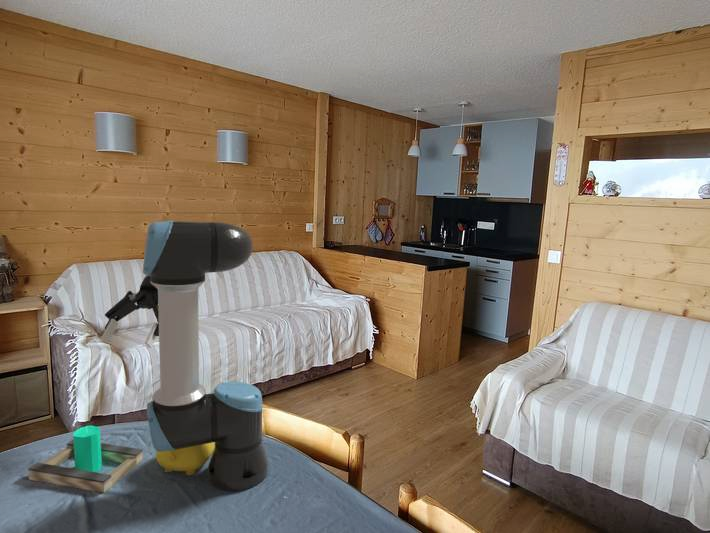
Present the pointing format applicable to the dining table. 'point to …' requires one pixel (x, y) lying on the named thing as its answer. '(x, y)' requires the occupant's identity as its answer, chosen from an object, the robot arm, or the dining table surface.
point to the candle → (87, 448)
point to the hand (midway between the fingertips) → (126, 343)
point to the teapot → (185, 458)
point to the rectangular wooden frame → (83, 478)
